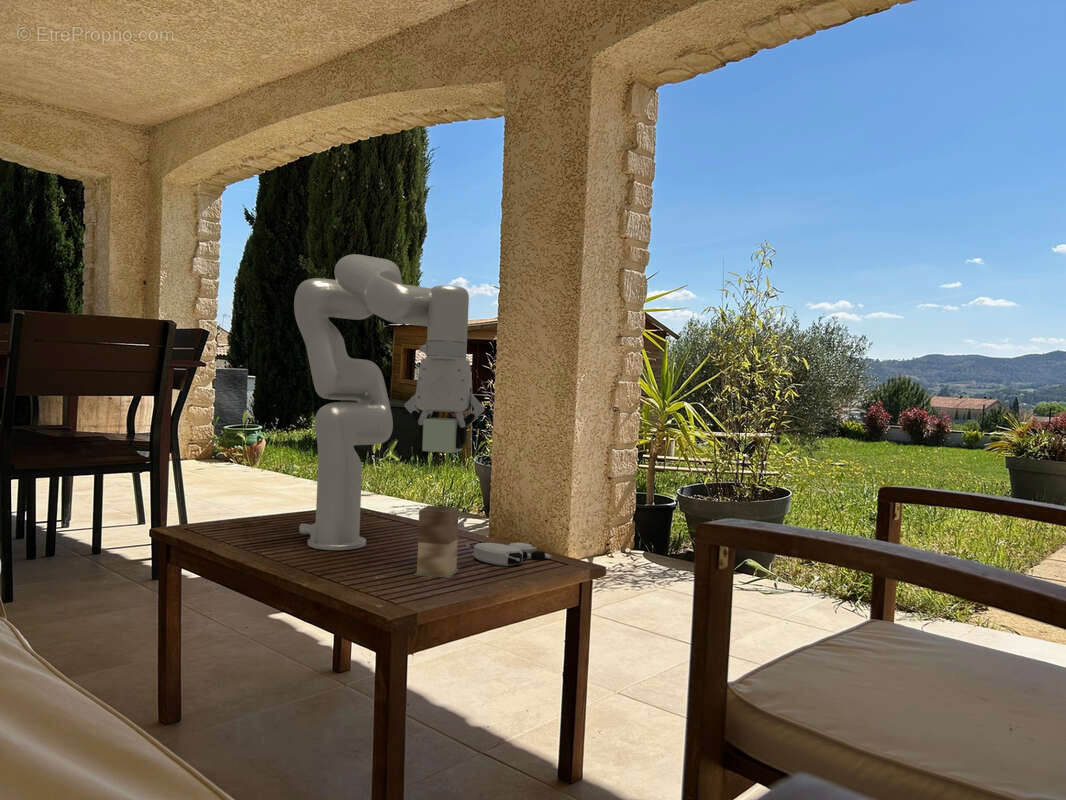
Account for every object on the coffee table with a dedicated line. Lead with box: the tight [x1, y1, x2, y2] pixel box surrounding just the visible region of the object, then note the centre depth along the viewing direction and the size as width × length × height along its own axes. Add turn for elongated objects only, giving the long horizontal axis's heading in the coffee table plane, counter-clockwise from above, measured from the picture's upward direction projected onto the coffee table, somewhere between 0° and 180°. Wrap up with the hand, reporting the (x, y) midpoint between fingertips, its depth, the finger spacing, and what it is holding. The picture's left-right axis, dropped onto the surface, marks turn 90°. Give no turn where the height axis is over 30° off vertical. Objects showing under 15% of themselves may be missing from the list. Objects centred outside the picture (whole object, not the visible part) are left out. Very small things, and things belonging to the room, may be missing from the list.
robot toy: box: [465, 542, 552, 567], centre depth 165 cm, size 12×4×15 cm
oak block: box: [416, 538, 459, 578], centre depth 151 cm, size 6×6×6 cm
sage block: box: [421, 417, 463, 454], centre depth 151 cm, size 6×6×6 cm
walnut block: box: [417, 505, 460, 545], centre depth 151 cm, size 6×6×6 cm
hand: (442, 446), depth 151 cm, fingers closed on sage block, 6 cm apart
